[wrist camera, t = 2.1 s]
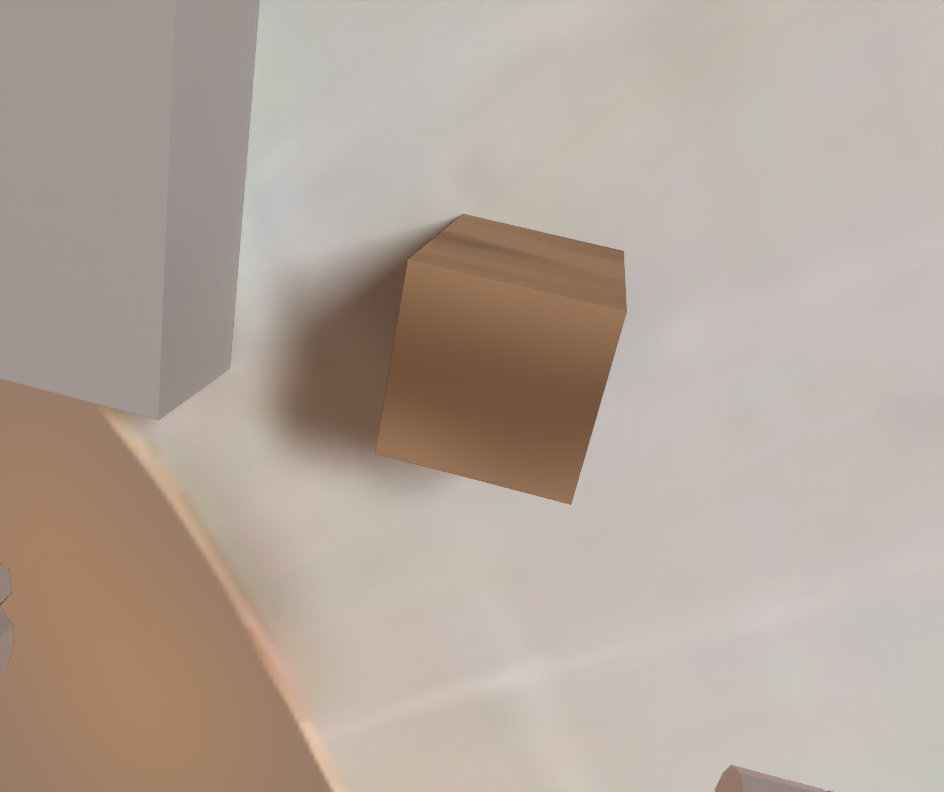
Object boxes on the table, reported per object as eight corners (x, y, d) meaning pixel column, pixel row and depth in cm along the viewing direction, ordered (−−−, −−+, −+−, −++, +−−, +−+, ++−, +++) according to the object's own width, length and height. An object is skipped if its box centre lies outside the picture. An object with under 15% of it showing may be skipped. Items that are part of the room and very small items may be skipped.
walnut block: (581, 399, 25) (571, 504, 19) (434, 363, 26) (375, 453, 19) (623, 251, 24) (626, 311, 17) (463, 213, 24) (407, 259, 18)
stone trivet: (234, 365, 28) (158, 420, 23) (-76, 286, 28) (-208, 323, 24) (265, -10, 23) (177, -36, 18) (-107, -90, 24) (-278, -132, 19)
